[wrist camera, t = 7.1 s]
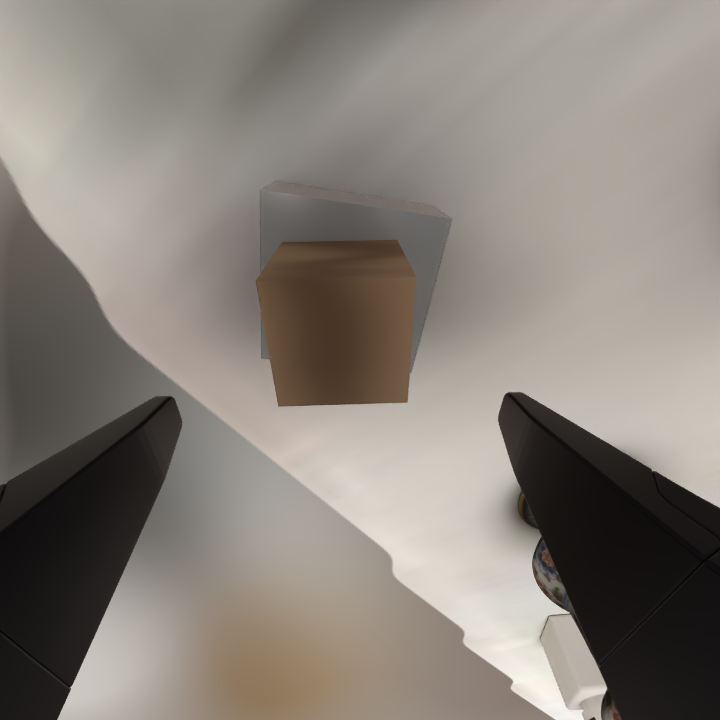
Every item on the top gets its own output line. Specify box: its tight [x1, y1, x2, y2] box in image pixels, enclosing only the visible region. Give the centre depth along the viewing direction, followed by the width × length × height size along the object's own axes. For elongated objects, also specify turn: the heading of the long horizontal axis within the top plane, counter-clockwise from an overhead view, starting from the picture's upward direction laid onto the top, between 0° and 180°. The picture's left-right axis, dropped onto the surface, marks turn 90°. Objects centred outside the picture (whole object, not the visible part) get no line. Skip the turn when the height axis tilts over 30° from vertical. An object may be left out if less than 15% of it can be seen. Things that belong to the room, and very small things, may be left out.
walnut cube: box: [256, 240, 417, 406], centre depth 14 cm, size 5×5×5 cm
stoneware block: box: [260, 181, 452, 374], centre depth 18 cm, size 8×8×4 cm
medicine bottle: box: [540, 614, 607, 720], centre depth 40 cm, size 7×7×12 cm
